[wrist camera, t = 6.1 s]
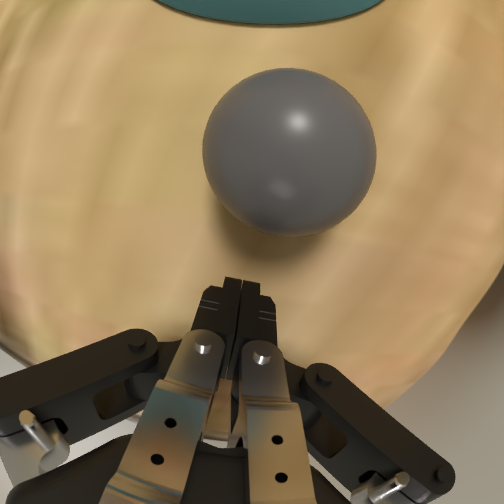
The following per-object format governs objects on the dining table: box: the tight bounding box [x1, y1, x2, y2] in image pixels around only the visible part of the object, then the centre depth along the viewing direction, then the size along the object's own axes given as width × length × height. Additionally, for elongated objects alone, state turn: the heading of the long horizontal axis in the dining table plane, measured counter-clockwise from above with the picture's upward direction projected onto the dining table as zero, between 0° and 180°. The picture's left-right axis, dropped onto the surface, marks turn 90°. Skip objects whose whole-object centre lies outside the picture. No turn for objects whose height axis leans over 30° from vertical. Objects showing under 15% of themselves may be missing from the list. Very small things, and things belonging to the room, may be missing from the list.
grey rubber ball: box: [203, 68, 376, 237], centre depth 8 cm, size 6×6×6 cm
